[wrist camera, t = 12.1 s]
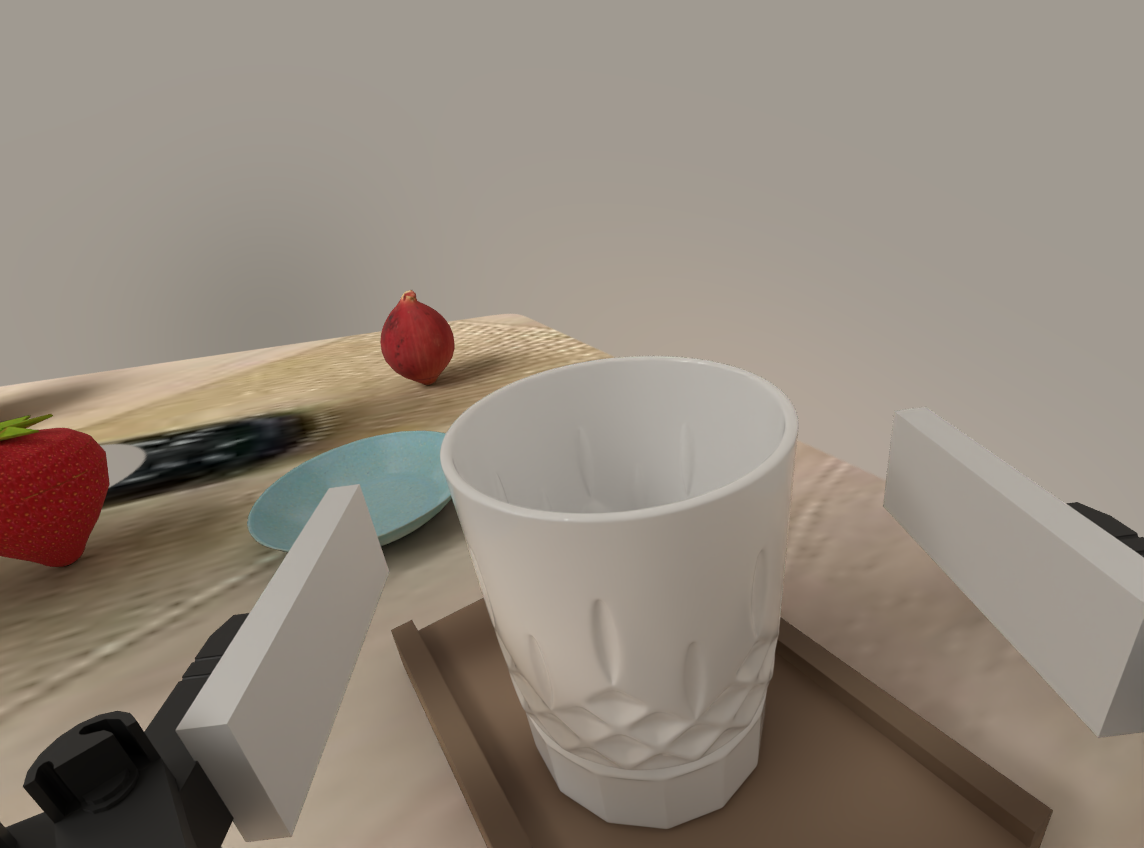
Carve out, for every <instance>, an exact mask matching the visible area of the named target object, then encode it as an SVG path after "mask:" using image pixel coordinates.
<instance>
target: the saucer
mask: <svg viewBox="0 0 1144 848" xmlns="http://www.w3.org/2000/svg"><path fill="white" fill-rule="evenodd" d="M445 435H446V434H445V433H441V432H433V431H404V432H395V433H390V434H383V435H378V436H375V437H369V438H365V439H362V440H358V441H355V442H352V443H349V444H346V445H343V446H341V447H338V448H335V449H332V450H329V451H328V452H325V453H323V454H321V455H318V456H316V457H314V458H312V459H310V460H308V461H306V462H304V463H302V464H301V465H299V466H297V467H295V468H294V469H293V470H291V471H290V472H288V473H286V474H285V475H284V476H282V477H281V478H280V479H278V480H277V481H276V482H275V483H273V484H272V485H271V486H270V487H269V488H268V489H266V491H265V492H264V493H263V494H262V495H261V496H260V497H259V499H258V500H257V501H256V502H255V504H254V505H253V507H252V509H251V511H250V513H249V516H248V521H247V524H248V525H247V526H248V530H249V532H250V534H251V536H252V537H253V538H254V539H255V540H256V541H258V542H259V543H260V544H262V546H263V545H264V546H266V547H269V548H273V549H276V550H280V551H284V552H289V550H290V549H291V547H292V546H293V544H294V543H295V541H296V539H297V538H298V536H299V535H300V533H301V532H302V530H303V528H304V527H305V525H306V524H307V522H308V521H309V519H310V517H311V516H312V514H313V513H314V511H315V509H316V508H317V506H318V505H319V503H320V502H321V500H322V498H323V497H324V495H325V494H326V492H327V491H328V489H329V488H334V487H341V486H349V485H356V484H360V487H361V490H362V493H363V496H364V499H365V502H366V504H367V507H368V510H369V513H370V516H371V519H372V522H373V525H374V528H375V531H376V534H377V537H378V540H379V543H380V546H383V545H386V544H388V543H391V542H393V541H396V540H398V539H400V538H402V537H404V536H406V535H407V534H409V533H411V532H413V531H414V530H416V529H417V528H419V527H421V526H422V525H423V524H425V523H426V522H427V521H429V520H430V519H431V518H433V517H434V516H435V515H436V514H437V513H438V512H439V511H440V510H441V509H442V508H443V507H444V506H445V505H446V504H447V503H448V502H449V501H450V500H451V499H452V497H451V494H450V491H449V488H448V485H447V482H446V479H445V475H444V472H443V469H442V466H441V462H440V449H441V445H442V441H443V439H444V437H445Z"/></svg>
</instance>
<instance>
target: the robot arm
mask: <svg viewBox="0 0 1144 848" xmlns="http://www.w3.org/2000/svg"><path fill="white" fill-rule="evenodd" d="M883 506H884V508H885V509H886V510H887V511H888V512H889V513H890V514H891V515H892V516H893V517H894V518H895V519H896V521H897V522H898V523H899V524H900V525H901V526H902V527H903V528H904V529H905V530H906V531H907V532H908V533H909V535H910V536H911V537H912V538H913V539H914V540H915V541H916V542H917V543H918V544H919V545H920V546H921V547H922V549H923V550H924V551H925V552H926V553H927V554H928V555H929V556H930V557H931V558H932V559H933V560H934V561H935V563H936V564H937V565H938V566H939V567H940V568H941V569H942V570H943V571H944V572H945V573H946V574H947V575H948V577H949V578H950V579H951V580H952V581H953V582H954V583H955V584H956V585H957V586H958V587H959V588H960V589H961V591H962V592H963V593H964V594H965V595H966V596H967V597H968V598H969V599H970V600H971V601H972V602H973V603H974V605H975V606H976V607H977V608H978V609H979V610H980V611H981V612H982V613H983V614H984V615H985V616H986V617H987V619H988V620H989V621H990V622H991V623H992V624H993V625H994V626H995V627H996V628H997V629H998V630H999V631H1000V633H1001V634H1002V635H1003V636H1004V637H1005V638H1006V639H1007V640H1008V641H1009V642H1010V643H1011V644H1012V645H1013V647H1014V648H1015V649H1016V650H1017V651H1018V652H1019V653H1020V654H1021V655H1022V656H1023V657H1024V658H1025V659H1026V661H1027V662H1028V663H1029V664H1030V665H1031V666H1032V667H1033V668H1034V669H1035V670H1036V671H1037V672H1038V673H1039V675H1040V676H1041V677H1042V678H1043V679H1044V680H1045V681H1046V682H1047V683H1048V684H1049V685H1050V686H1051V688H1052V689H1053V690H1054V691H1055V692H1056V693H1057V694H1058V695H1059V696H1060V697H1061V698H1062V699H1063V700H1064V702H1065V703H1066V704H1067V705H1068V706H1069V707H1070V708H1071V709H1072V710H1073V711H1074V712H1075V713H1076V714H1077V716H1078V717H1079V718H1080V719H1081V720H1082V721H1083V722H1084V723H1085V724H1086V725H1087V726H1088V727H1089V728H1090V730H1091V731H1092V732H1093V733H1094V734H1095V735H1096V736H1097V737H1098V738H1100V737H1108V736H1116V735H1124V734H1133V733H1141V732H1144V538H1143V537H1141V538H1139V537H1138V535H1137V533H1136V532H1134V531H1133V530H1131V529H1130V528H1128V527H1127V526H1125V525H1124V524H1122V523H1121V522H1119V521H1118V520H1116V519H1114V518H1113V517H1112V516H1110V515H1107V514H1105V513H1102V512H1100V511H1097V510H1095V509H1093V508H1090V507H1088V506H1085V505H1083V504H1080V503H1078V502H1075V503H1067V504H1066V503H1064V502H1063V501H1061V500H1060V499H1058V498H1057V497H1056V496H1054V495H1053V494H1051V493H1050V492H1048V491H1047V490H1046V489H1044V488H1043V487H1041V486H1040V485H1038V484H1037V483H1035V482H1034V481H1033V480H1031V479H1030V478H1028V477H1027V476H1025V475H1024V474H1022V473H1021V472H1020V471H1018V470H1017V469H1015V468H1014V467H1012V466H1011V465H1010V464H1008V463H1007V462H1005V461H1004V460H1002V459H1001V458H999V457H998V456H997V455H995V454H994V453H992V452H991V451H989V450H988V449H986V448H985V447H984V446H982V445H981V444H979V443H978V442H976V441H975V440H973V439H972V438H970V437H969V436H968V435H966V434H965V433H963V432H962V431H960V430H959V429H958V428H956V427H955V426H953V425H952V424H950V423H949V422H947V421H946V420H944V419H943V418H942V417H940V416H939V415H937V414H936V413H934V412H933V411H932V410H930V409H929V408H927V407H920V408H913V409H905V410H898V411H894V416H893V425H892V435H891V442H890V451H889V460H888V469H887V478H886V486H885V495H884V504H883ZM388 574H389V569H388V566H387V563H386V560H385V557H384V554H383V551H382V549H381V546H380V543H379V540H378V537H377V534H376V531H375V528H374V525H373V522H372V519H371V516H370V513H369V510H368V507H367V504H366V502H365V499H364V496H363V493H362V490H361V487H360V484H356V485H349V486H341V487H334V488H329V489H328V491H327V492H326V494H325V495H324V497H323V498H322V500H321V502H320V503H319V505H318V506H317V508H316V509H315V511H314V513H313V514H312V516H311V517H310V519H309V521H308V522H307V524H306V525H305V527H304V528H303V530H302V532H301V533H300V535H299V536H298V538H297V539H296V541H295V543H294V544H293V546H292V547H291V549H290V550H289V552H288V554H287V555H286V557H285V558H284V560H283V561H282V563H281V565H280V566H279V568H278V569H277V571H276V572H275V574H274V576H273V577H272V579H271V580H270V582H269V584H268V585H267V587H266V588H265V590H264V591H263V593H262V595H261V596H260V598H259V599H258V601H257V602H256V604H255V606H254V607H253V609H252V610H251V612H250V613H246V614H239V615H233V616H232V617H231V618H230V619H229V620H228V621H226V622H225V623H224V624H223V625H222V626H221V627H220V628H219V629H217V630H216V631H215V632H214V633H213V634H212V635H211V636H210V637H209V638H208V640H207V641H206V643H205V644H204V646H203V647H202V649H201V650H200V652H199V653H198V655H197V656H196V657H195V662H193V663H191V665H190V666H189V668H188V669H187V671H186V672H185V673H184V675H183V676H182V678H183V679H182V681H180V682H178V684H177V685H176V687H175V688H174V689H173V691H172V692H171V694H170V695H169V697H168V698H167V700H166V701H165V703H164V704H163V706H162V707H161V708H160V710H159V711H158V713H157V714H156V716H155V717H154V719H153V720H152V722H151V723H150V724H149V726H148V727H147V729H146V730H145V732H144V731H143V730H142V728H141V727H140V725H139V724H138V722H137V721H136V719H135V718H134V717H133V716H132V715H131V713H127V712H121V711H115V712H110V713H105V714H101V715H98V716H95V717H93V718H91V719H89V720H87V721H84V722H82V723H80V724H78V725H77V726H75V727H74V728H72V729H71V730H69V731H68V732H66V733H64V734H63V735H61V736H60V737H58V738H57V739H56V740H55V741H54V742H53V743H52V744H51V745H50V746H49V747H47V748H46V749H45V750H44V751H43V752H42V753H41V754H40V755H39V756H38V758H37V759H36V760H35V762H34V763H33V765H32V766H31V767H30V769H29V770H28V772H27V775H26V778H25V782H24V785H23V787H24V789H25V790H26V791H27V792H28V793H29V794H30V796H31V797H32V798H33V799H34V800H35V801H36V803H37V804H38V805H39V806H40V807H41V809H42V810H43V811H44V812H43V813H41V814H38V815H36V816H33V817H31V818H28V819H26V820H23V821H21V822H18V823H16V824H13V825H11V826H8V827H4V826H3V825H2V824H1V823H0V848H222V847H221V845H222V843H223V840H224V838H225V836H226V834H227V832H228V830H229V828H230V825H231V823H232V821H233V822H234V824H235V825H236V827H237V829H238V830H239V832H240V833H241V835H242V836H243V838H244V840H245V841H246V842H251V841H259V840H268V839H276V838H284V837H292V834H293V831H294V829H295V826H296V823H297V821H298V818H299V815H300V812H301V810H302V807H303V804H304V802H305V799H306V796H307V793H308V791H309V788H310V785H311V783H312V780H313V777H314V775H315V772H316V769H317V766H318V764H319V761H320V758H321V756H322V753H323V750H324V747H325V745H326V742H327V739H328V737H329V734H330V731H331V729H332V726H333V723H334V720H335V718H336V715H337V712H338V710H339V707H340V704H341V701H342V699H343V696H344V693H345V691H346V688H347V685H348V683H349V680H350V677H351V674H352V672H353V669H354V666H355V664H356V661H357V658H358V655H359V653H360V650H361V647H362V645H363V642H364V639H365V637H366V634H367V631H368V628H369V626H370V623H371V620H372V618H373V615H374V612H375V609H376V607H377V604H378V601H379V599H380V596H381V593H382V591H383V588H384V585H385V582H386V580H387V577H388Z"/></svg>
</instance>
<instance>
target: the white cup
mask: <svg viewBox="0 0 1144 848" xmlns="http://www.w3.org/2000/svg"><path fill="white" fill-rule="evenodd" d="M797 436H798V417H797V413H796V410H795V408H794V406H793V404H792V402H791V401H790V399H789V398H788V397H787V396H786V395H785V394H784V393H783V392H782V391H781V390H780V389H779V388H778V387H776V386H775V385H774V384H772V383H771V382H769V381H767V380H766V379H764V378H762V377H760V376H758V375H756V374H754V373H751V372H749V371H746V370H744V369H740V368H737V367H734V366H730V365H727V364H723V363H719V362H714V361H708V360H703V359H695V358H687V357H674V356H632V357H618V358H608V359H600V360H593V361H587V362H582V363H576V364H572V365H567V366H563V367H559V368H555V369H551V370H547V371H544V372H541V373H538V374H534V375H532V376H529V377H526V378H523V379H521V380H518V381H516V382H513V383H511V384H509V385H506V386H504V387H502V388H500V389H498V390H496V391H494V392H492V393H491V394H489V395H487V396H485V397H484V398H482V399H481V400H479V401H478V402H476V403H475V404H473V405H472V406H471V407H469V408H468V409H467V410H466V411H465V412H463V413H462V414H461V415H460V416H459V417H458V418H457V419H456V420H455V422H454V423H453V424H452V425H451V427H450V428H449V429H448V431H447V433H446V435H445V437H444V439H443V441H442V445H441V449H440V462H441V466H442V469H443V472H444V475H445V479H446V482H447V485H448V488H449V491H450V494H451V497H452V500H453V503H454V506H455V509H456V512H457V515H458V519H459V522H460V525H461V528H462V531H463V534H464V537H465V540H466V544H467V547H468V550H469V553H470V556H471V560H472V563H473V566H474V569H475V572H476V575H477V579H478V582H479V585H480V588H481V591H482V595H483V598H484V601H485V604H486V607H487V611H488V614H489V617H490V620H491V623H492V625H493V627H494V630H495V633H496V636H497V639H498V642H499V645H500V647H501V650H502V653H503V655H504V658H505V661H506V663H507V668H508V671H509V674H510V677H511V680H512V682H513V685H514V688H515V691H516V693H517V696H518V698H519V701H520V703H521V705H522V707H523V709H524V710H525V711H526V715H527V718H528V721H529V725H530V728H531V731H532V735H533V738H534V741H535V744H536V747H537V749H538V751H539V753H540V755H541V756H542V758H543V760H544V762H545V764H546V766H547V767H548V769H549V771H550V773H551V775H552V777H553V779H554V780H555V782H556V784H557V786H558V788H559V790H560V791H561V792H562V793H563V794H565V795H566V796H568V797H570V798H571V799H573V800H574V801H576V802H577V803H579V804H580V805H582V806H583V807H585V808H586V809H588V810H589V811H591V812H592V813H594V814H595V815H597V816H598V817H600V818H601V819H603V820H605V821H606V822H608V823H615V824H624V825H633V826H642V827H652V828H661V829H670V828H672V827H675V826H677V825H680V824H683V823H685V822H688V821H690V820H693V819H695V818H698V817H700V816H703V815H706V814H708V813H711V812H713V811H716V810H718V809H721V808H723V807H724V806H725V804H726V803H727V802H728V801H729V799H730V798H731V797H732V796H733V795H734V793H735V792H736V791H737V790H738V789H739V787H740V786H741V785H742V784H743V782H744V781H745V780H746V779H747V778H748V776H749V775H750V774H751V773H752V771H753V770H754V769H755V768H756V766H757V764H758V757H759V750H760V744H761V737H762V730H763V723H764V716H765V705H766V693H767V688H768V685H769V683H770V681H771V679H772V677H773V671H774V660H775V649H776V645H777V640H778V635H779V625H780V616H781V605H782V595H783V584H784V572H785V562H786V552H787V541H788V530H789V519H790V508H791V497H792V487H793V476H794V466H795V456H796V446H797Z"/></svg>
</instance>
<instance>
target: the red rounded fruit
mask: <svg viewBox="0 0 1144 848" xmlns="http://www.w3.org/2000/svg"><path fill="white" fill-rule="evenodd" d="M381 350H382V353H383V356H384V358H385V360H386V362H387V363H388V364H389V365H390V366H391V368H392V369H393V370H394V371H395V372H396V373H398V374H400V375H402V376H403V377H405V378H408V379H411V380H413V381H416V382H419V383H422V384H424V385H430V384H433V383H434V382H435V381H436V380H437V378H438V376H439V375H440V374H441V372H442V371H443V370H444V369H445V368H446V367H447V365H448V364H449V362H450V360H451V359H452V356H453V352H454V337H453V333H452V330H451V328H450V326H449V324H448V323H447V321H446V320H445V319H444V318H443V316H441V315H440V314H439V313H438V312H437V311H436V310H434V309H432V308H431V307H429V306H427V305H425V304H423V303H420V302H418V301H417V299H416V294H415V293H414V292H413V291H412V290H410V291H407V292H405V293H404V294H403V296H402V297H401V299H400V301H399V303H398V304H397V306H396V307H395V308H394V309H393V310H392V311H391V313H390V314H389V316H388V318H387V320H386V322H385V324H384V326H383V329H382V333H381Z"/></svg>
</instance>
